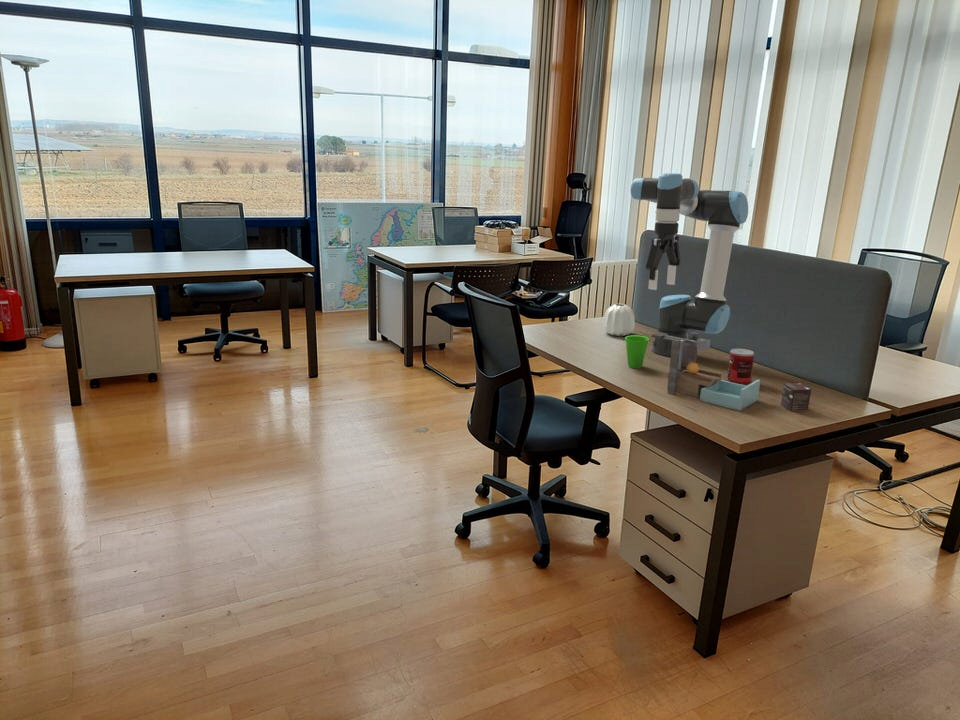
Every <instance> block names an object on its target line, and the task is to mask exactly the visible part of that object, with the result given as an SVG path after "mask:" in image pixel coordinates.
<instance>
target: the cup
mask: <svg viewBox="0 0 960 720" xmlns="http://www.w3.org/2000/svg"><path fill="white" fill-rule="evenodd" d="M624 340H625V346H626V355H627V357H626V358H627V365H628V367H629V368H632V369H640V368H642V367H643V365H644V361H645V356H646V351H647V347H648V343H649V341H650V338H649V337H648V336H643V335H638V334H637V335H636V334H635V335H633V334H632V335H631V334H629V335H625V337H624Z"/></svg>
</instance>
